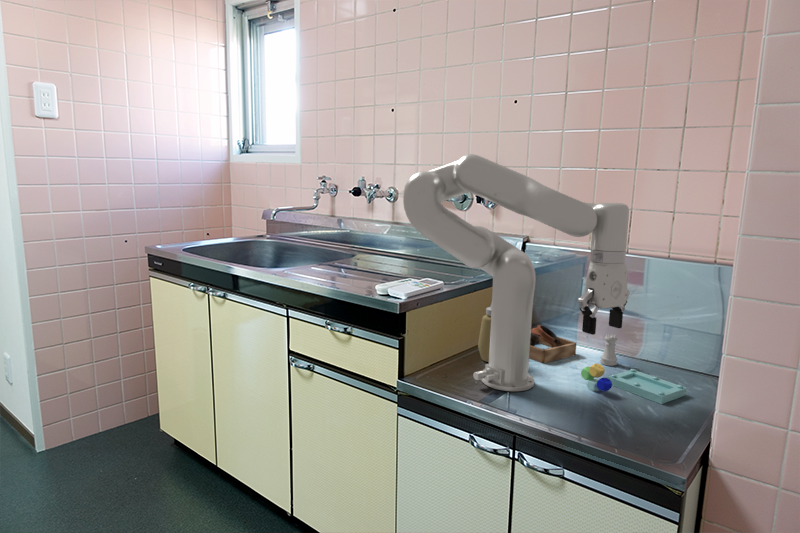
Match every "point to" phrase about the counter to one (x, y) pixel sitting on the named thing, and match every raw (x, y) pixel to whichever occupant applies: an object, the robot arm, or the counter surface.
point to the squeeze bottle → (485, 335)
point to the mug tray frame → (553, 351)
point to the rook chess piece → (609, 351)
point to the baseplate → (647, 386)
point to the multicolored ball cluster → (596, 372)
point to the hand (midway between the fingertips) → (602, 330)
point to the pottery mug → (543, 336)
